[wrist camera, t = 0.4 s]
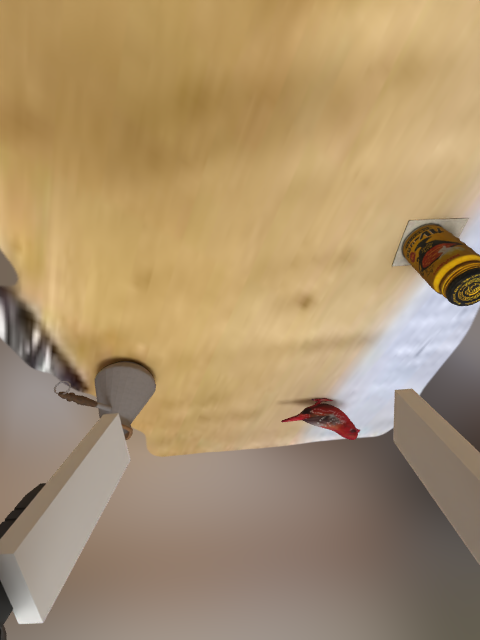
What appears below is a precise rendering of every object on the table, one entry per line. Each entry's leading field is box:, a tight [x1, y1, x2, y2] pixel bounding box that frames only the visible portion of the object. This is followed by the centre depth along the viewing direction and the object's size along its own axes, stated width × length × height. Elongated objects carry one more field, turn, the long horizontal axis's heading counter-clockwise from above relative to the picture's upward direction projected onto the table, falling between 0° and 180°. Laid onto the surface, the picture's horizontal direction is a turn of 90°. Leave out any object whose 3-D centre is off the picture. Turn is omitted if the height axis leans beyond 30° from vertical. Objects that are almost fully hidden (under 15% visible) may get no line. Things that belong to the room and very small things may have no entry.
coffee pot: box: [54, 361, 156, 440], centre depth 51 cm, size 21×12×15 cm, turn 8°
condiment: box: [392, 218, 480, 306], centre depth 39 cm, size 7×8×12 cm
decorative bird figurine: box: [281, 398, 360, 440], centre depth 66 cm, size 3×18×10 cm, turn 83°
